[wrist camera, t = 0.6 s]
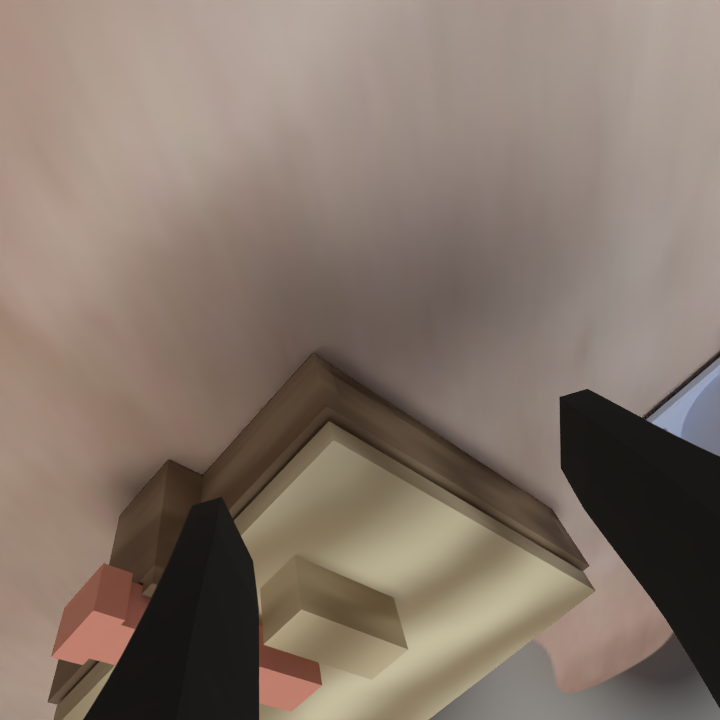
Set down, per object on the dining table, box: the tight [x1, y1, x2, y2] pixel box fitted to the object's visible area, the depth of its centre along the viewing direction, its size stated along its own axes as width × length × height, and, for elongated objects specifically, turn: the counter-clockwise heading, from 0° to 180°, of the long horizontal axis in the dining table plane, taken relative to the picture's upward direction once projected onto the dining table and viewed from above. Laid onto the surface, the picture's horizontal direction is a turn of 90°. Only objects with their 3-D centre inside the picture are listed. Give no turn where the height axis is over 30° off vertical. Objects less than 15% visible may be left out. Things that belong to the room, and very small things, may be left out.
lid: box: [54, 421, 595, 720], centre depth 23 cm, size 15×17×3 cm
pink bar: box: [51, 563, 322, 712], centre depth 20 cm, size 9×2×2 cm, turn 48°
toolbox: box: [48, 353, 589, 704], centre depth 25 cm, size 18×18×6 cm
